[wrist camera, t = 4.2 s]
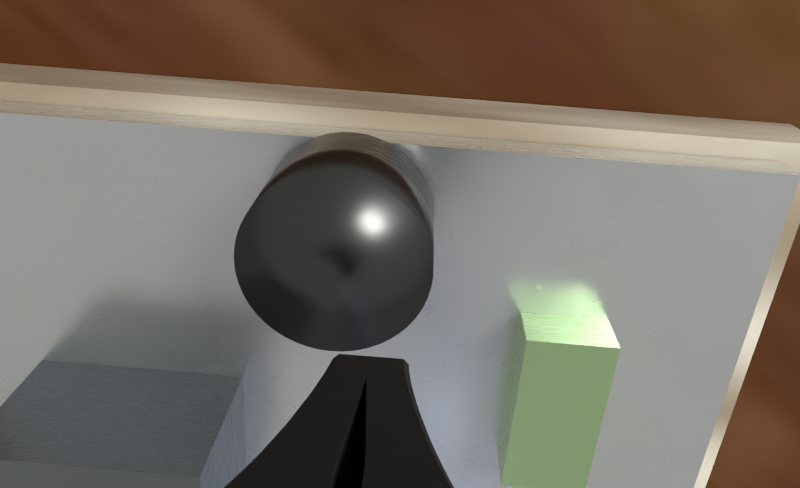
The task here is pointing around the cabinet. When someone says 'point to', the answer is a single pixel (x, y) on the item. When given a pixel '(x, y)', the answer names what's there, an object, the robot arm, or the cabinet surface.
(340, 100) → the leveling base
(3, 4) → the cabinet surface
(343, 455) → the robot arm
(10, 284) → the leveling plate
